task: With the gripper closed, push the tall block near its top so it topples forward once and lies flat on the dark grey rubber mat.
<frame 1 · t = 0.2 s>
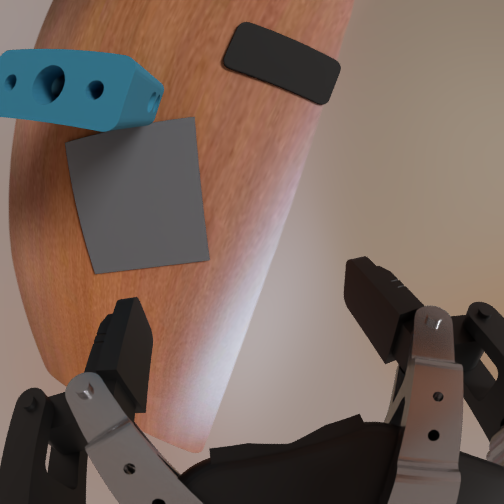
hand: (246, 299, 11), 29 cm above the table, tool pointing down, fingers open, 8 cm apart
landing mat: (136, 200, 36), on the table
phone: (283, 63, 32), on the table
block: (123, 98, 30), on the table
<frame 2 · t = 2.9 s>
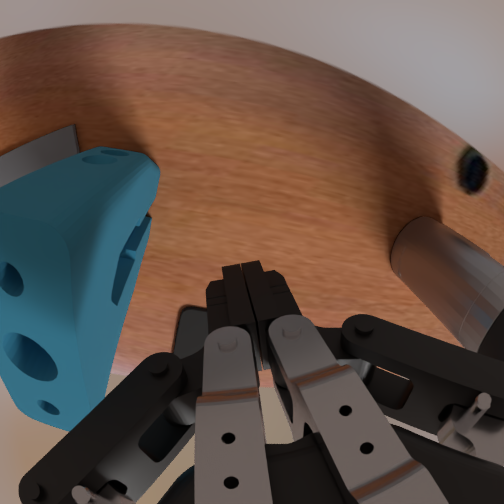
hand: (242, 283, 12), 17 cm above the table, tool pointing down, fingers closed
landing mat: (24, 230, 24), on the table
phone: (201, 350, 36), on the table
block: (129, 202, 26), on the table
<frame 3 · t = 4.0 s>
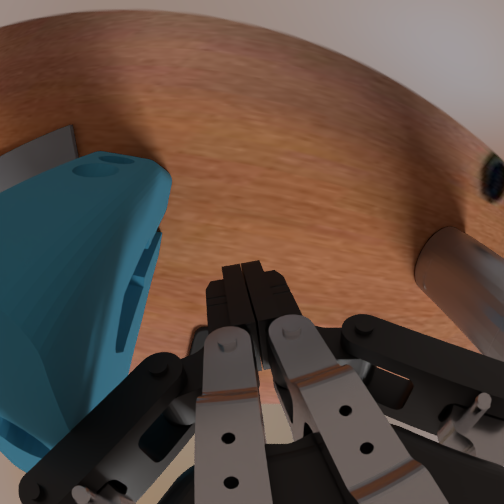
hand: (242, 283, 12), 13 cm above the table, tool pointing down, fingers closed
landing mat: (18, 244, 21), on the table
phone: (215, 370, 33), on the table
block: (136, 214, 23), on the table, touching hand
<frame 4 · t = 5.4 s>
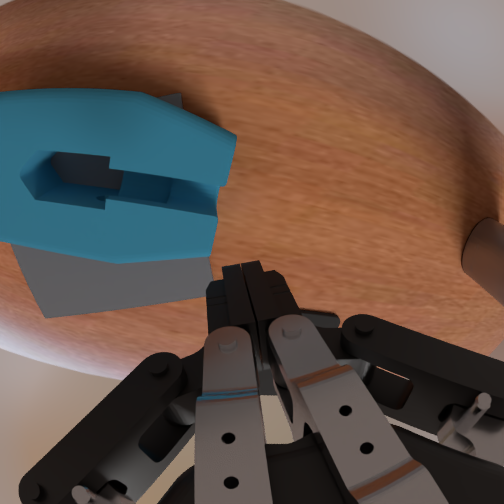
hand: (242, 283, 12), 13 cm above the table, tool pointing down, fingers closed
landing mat: (89, 223, 22), on the table
phone: (289, 355, 34), on the table
block: (222, 192, 20), point 3 cm above the table, touching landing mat
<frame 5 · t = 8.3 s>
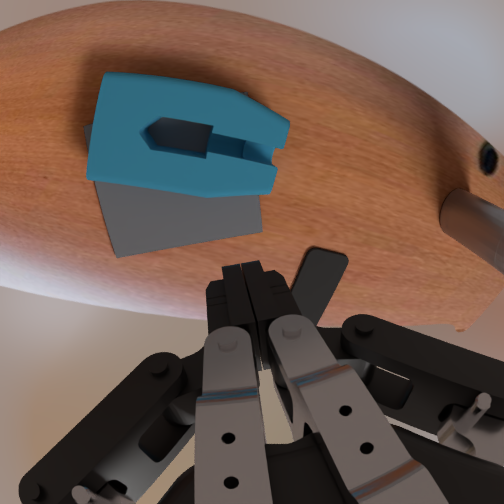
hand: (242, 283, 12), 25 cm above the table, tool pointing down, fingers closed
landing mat: (173, 176, 33), on the table
phone: (310, 290, 45), on the table
block: (276, 155, 31), point 3 cm above the table, touching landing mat
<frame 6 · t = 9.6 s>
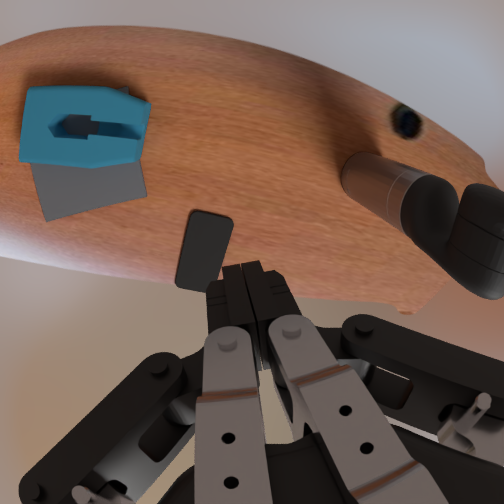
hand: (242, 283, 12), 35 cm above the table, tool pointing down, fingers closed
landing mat: (80, 157, 38), on the table
phone: (202, 252, 50), on the table
block: (144, 131, 36), point 3 cm above the table, touching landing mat
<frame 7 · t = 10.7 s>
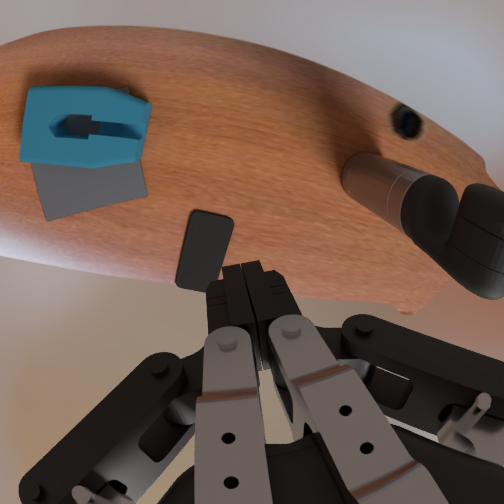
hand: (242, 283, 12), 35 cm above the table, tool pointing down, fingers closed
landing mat: (80, 156, 38), on the table
phone: (203, 252, 50), on the table
block: (144, 131, 36), point 3 cm above the table, touching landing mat
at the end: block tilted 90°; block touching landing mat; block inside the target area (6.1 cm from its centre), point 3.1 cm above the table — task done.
